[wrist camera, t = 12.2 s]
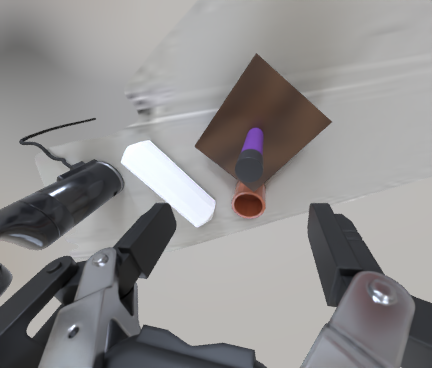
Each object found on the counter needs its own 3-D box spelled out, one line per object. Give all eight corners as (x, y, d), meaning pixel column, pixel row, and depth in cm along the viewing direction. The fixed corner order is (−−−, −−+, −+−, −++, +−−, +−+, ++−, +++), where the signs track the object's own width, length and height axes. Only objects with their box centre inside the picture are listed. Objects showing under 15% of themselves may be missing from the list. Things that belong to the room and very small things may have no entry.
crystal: (113, 165, 38) (194, 233, 43) (111, 153, 32) (205, 234, 37) (138, 145, 42) (210, 210, 47) (141, 130, 36) (223, 207, 40)
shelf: (208, 133, 34) (194, 146, 27) (258, 59, 26) (256, 53, 20) (256, 170, 35) (253, 192, 29) (316, 111, 28) (332, 121, 21)
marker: (242, 137, 25) (229, 171, 15) (254, 123, 23) (246, 151, 14) (255, 147, 25) (249, 187, 16) (268, 134, 24) (269, 169, 14)
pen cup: (230, 189, 39) (225, 205, 34) (248, 170, 36) (246, 185, 31) (251, 205, 40) (249, 223, 35) (271, 188, 36) (272, 206, 31)
